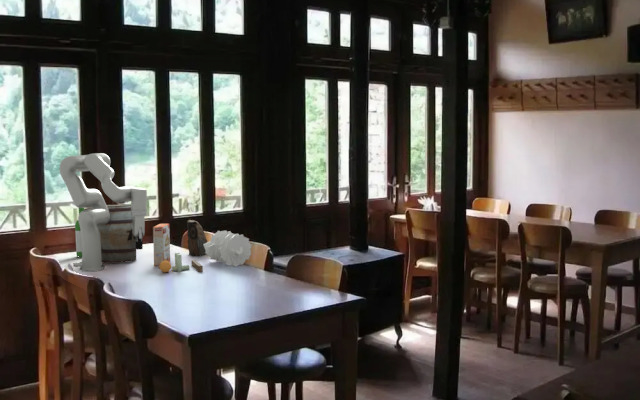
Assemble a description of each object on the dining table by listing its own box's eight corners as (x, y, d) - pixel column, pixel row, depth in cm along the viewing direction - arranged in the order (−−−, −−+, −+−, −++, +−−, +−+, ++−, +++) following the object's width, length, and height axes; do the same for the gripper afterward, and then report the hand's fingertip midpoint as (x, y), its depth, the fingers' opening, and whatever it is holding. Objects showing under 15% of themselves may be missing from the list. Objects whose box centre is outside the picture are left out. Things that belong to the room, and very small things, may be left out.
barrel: (145, 259, 381) (144, 205, 379) (110, 264, 363) (109, 207, 361) (119, 256, 394) (118, 204, 393) (85, 260, 376) (84, 206, 375)
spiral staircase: (224, 267, 380) (248, 271, 360) (197, 256, 370) (220, 261, 350) (235, 235, 384) (259, 238, 364) (209, 224, 374) (232, 227, 354)
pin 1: (175, 269, 353) (175, 253, 353) (174, 269, 356) (174, 252, 355) (180, 269, 354) (179, 253, 353) (179, 268, 357) (179, 252, 356)
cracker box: (165, 266, 364) (163, 226, 362) (153, 266, 364) (152, 226, 362) (171, 260, 378) (169, 223, 376) (160, 261, 378) (158, 223, 376)
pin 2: (177, 271, 349) (177, 255, 348) (176, 270, 351) (176, 254, 350) (182, 271, 350) (181, 254, 349) (181, 270, 352) (180, 254, 351)
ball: (172, 273, 347) (160, 275, 346) (172, 266, 352) (160, 269, 351) (170, 263, 344) (158, 266, 343) (169, 257, 349) (157, 259, 348)
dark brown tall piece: (200, 257, 388) (198, 222, 386) (180, 256, 392) (179, 221, 390) (211, 253, 400) (210, 219, 398) (192, 252, 404) (190, 218, 402)
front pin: (172, 267, 350) (189, 265, 353) (171, 265, 352) (188, 264, 355) (172, 271, 350) (189, 270, 354) (171, 270, 353) (188, 268, 356)
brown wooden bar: (198, 272, 348) (198, 266, 347) (191, 265, 364) (191, 260, 364) (202, 271, 348) (202, 265, 348) (195, 265, 365) (195, 259, 365)
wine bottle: (86, 258, 389) (83, 205, 386) (73, 257, 391) (71, 205, 388) (93, 255, 397) (91, 203, 394) (81, 255, 399) (78, 203, 395)
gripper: (129, 210, 348) (129, 246, 350) (133, 215, 334) (133, 252, 337) (144, 210, 351) (144, 245, 353) (148, 214, 337) (148, 251, 339)
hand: (139, 248), depth 345 cm, fingers closed
